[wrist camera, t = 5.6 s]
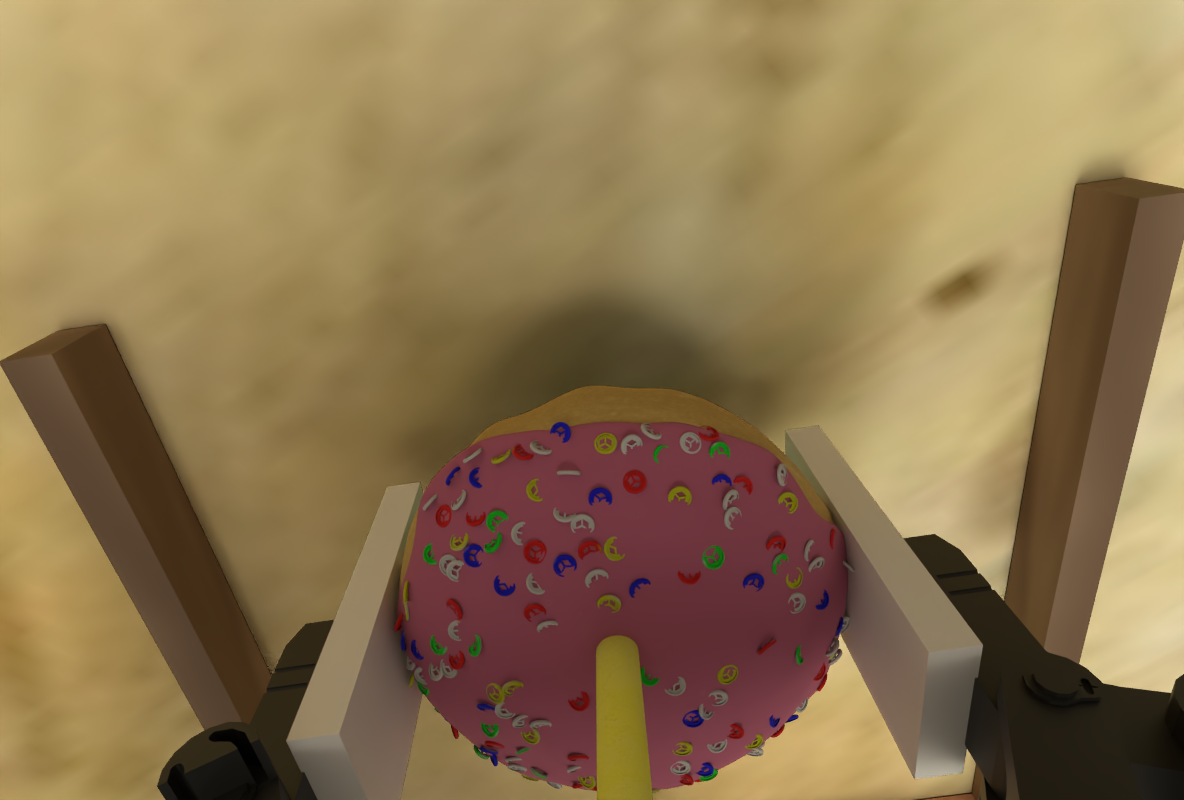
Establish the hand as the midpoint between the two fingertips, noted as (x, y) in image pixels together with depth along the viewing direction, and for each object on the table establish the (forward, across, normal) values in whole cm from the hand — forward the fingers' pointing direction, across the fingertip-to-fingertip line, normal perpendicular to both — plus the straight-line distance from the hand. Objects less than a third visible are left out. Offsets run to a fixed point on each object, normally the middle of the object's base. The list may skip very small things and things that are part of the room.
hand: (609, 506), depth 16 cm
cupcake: (+2, 0, 0) cm, 2 cm away
